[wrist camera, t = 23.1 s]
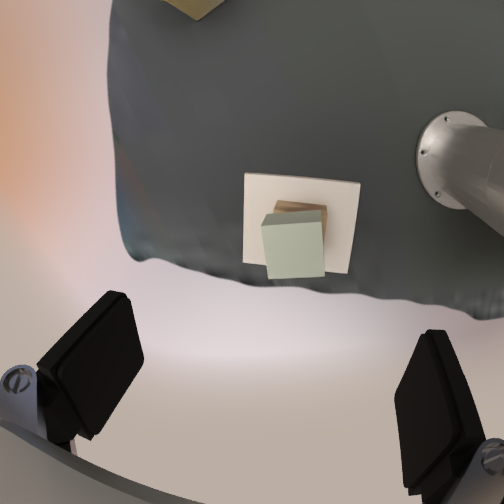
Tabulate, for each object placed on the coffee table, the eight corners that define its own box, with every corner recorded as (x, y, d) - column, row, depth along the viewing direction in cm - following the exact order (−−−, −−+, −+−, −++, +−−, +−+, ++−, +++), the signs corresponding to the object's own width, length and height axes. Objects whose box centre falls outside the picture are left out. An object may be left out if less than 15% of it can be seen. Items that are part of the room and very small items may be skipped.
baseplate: (359, 182, 36) (360, 184, 35) (346, 270, 41) (347, 273, 40) (246, 172, 39) (244, 173, 38) (244, 259, 44) (243, 262, 43)
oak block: (326, 205, 37) (327, 215, 34) (320, 250, 40) (320, 264, 36) (277, 200, 38) (273, 209, 35) (274, 245, 41) (270, 258, 37)
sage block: (320, 209, 34) (321, 221, 30) (324, 259, 36) (324, 276, 32) (266, 213, 35) (260, 225, 31) (273, 262, 37) (268, 279, 34)
